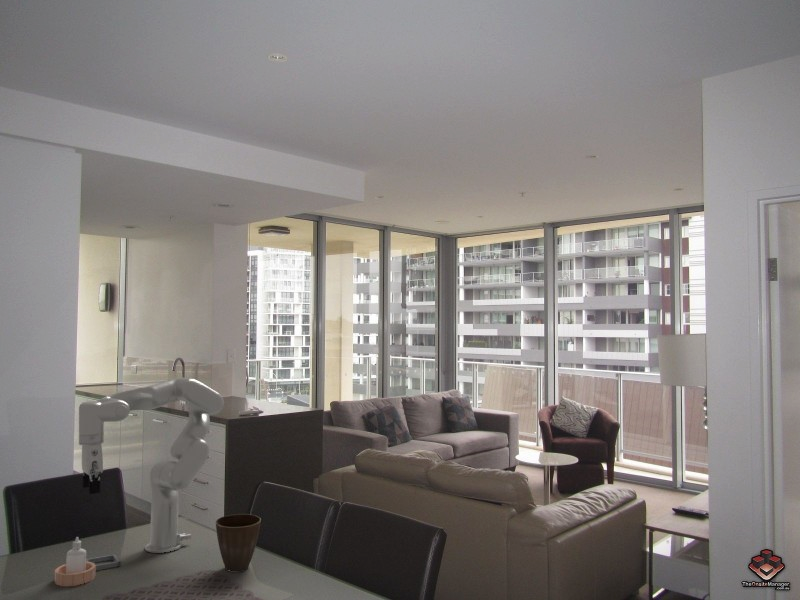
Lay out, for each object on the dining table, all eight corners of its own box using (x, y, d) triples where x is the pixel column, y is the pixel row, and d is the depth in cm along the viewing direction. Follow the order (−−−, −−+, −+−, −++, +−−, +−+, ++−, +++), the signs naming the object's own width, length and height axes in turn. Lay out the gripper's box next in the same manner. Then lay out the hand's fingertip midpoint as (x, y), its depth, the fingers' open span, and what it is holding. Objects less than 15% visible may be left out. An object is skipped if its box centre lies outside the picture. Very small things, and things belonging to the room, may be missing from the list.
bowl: (91, 569, 211) (91, 559, 211) (98, 581, 201) (98, 569, 202) (52, 577, 204) (53, 566, 204) (57, 589, 195) (58, 577, 195)
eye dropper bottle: (77, 579, 200) (79, 540, 201) (63, 577, 202) (64, 538, 202) (87, 574, 204) (89, 536, 205) (73, 572, 206) (75, 534, 206)
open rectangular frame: (114, 558, 221) (114, 554, 222) (120, 566, 214) (120, 561, 215) (84, 563, 216) (84, 559, 216) (88, 571, 209) (89, 567, 209)
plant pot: (265, 571, 212) (267, 522, 212) (221, 579, 204) (222, 529, 205) (251, 557, 224) (253, 511, 225) (209, 565, 217) (210, 517, 218)
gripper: (109, 441, 209) (109, 493, 208) (97, 433, 222) (97, 482, 222) (84, 444, 204) (84, 497, 204) (73, 436, 218) (73, 486, 217)
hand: (91, 489), depth 213 cm, fingers open, 9 cm apart
